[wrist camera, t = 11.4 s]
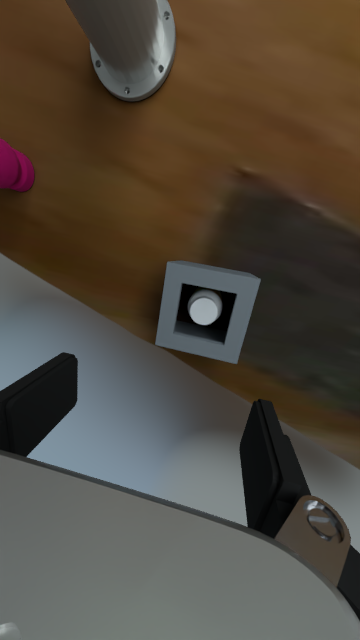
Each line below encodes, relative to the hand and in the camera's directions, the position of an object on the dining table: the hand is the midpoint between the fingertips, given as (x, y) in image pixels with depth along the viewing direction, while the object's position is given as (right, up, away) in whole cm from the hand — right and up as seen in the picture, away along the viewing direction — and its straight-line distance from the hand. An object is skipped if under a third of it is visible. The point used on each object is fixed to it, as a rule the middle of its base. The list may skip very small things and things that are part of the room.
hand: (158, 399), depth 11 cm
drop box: (+6, +8, +29) cm, 30 cm away
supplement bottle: (+6, +8, +29) cm, 31 cm away
